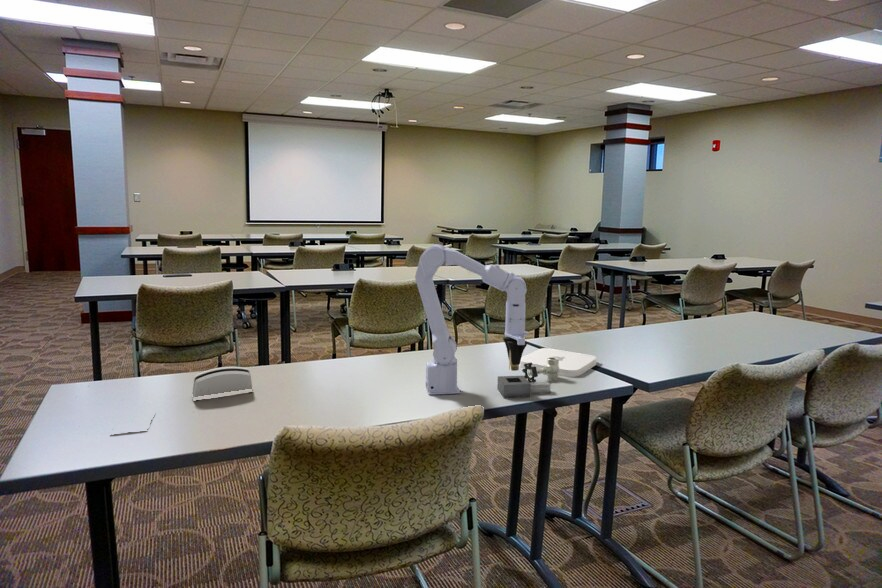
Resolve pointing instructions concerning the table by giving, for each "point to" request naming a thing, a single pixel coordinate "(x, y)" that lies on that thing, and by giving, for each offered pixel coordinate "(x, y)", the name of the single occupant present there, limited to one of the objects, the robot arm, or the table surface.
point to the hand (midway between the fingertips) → (514, 362)
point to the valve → (543, 370)
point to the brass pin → (512, 367)
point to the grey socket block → (520, 387)
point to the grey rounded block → (221, 381)
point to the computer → (561, 361)
